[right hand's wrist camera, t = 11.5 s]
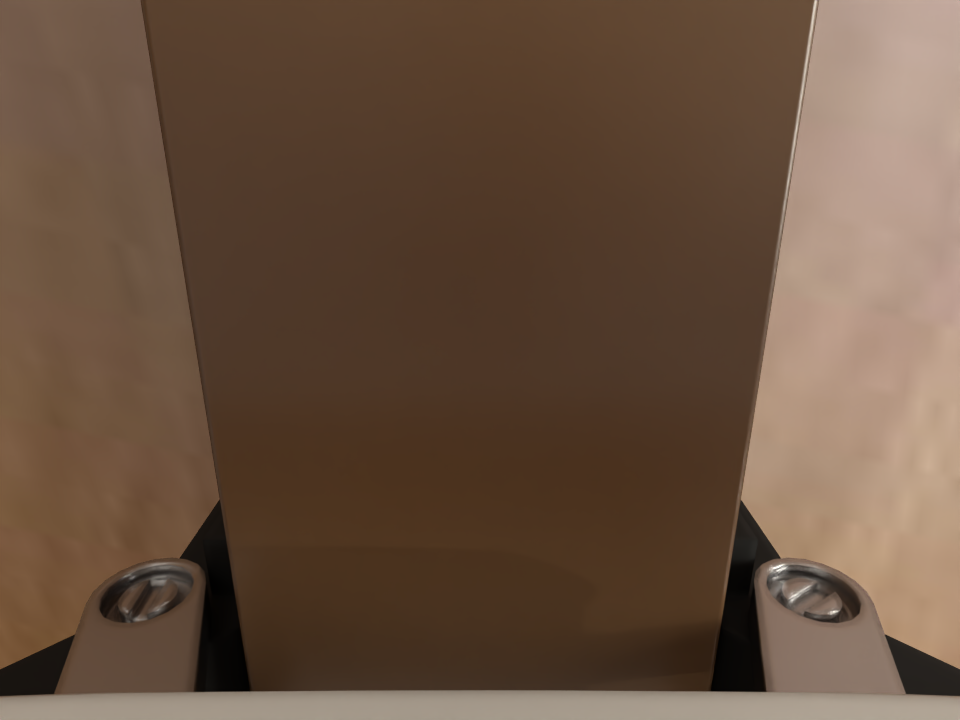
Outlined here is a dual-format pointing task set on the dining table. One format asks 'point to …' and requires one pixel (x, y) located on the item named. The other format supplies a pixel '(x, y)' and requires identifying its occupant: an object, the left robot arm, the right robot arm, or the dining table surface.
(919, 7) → the dining table surface
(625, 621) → the bar
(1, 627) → the dining table surface
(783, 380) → the dining table surface
